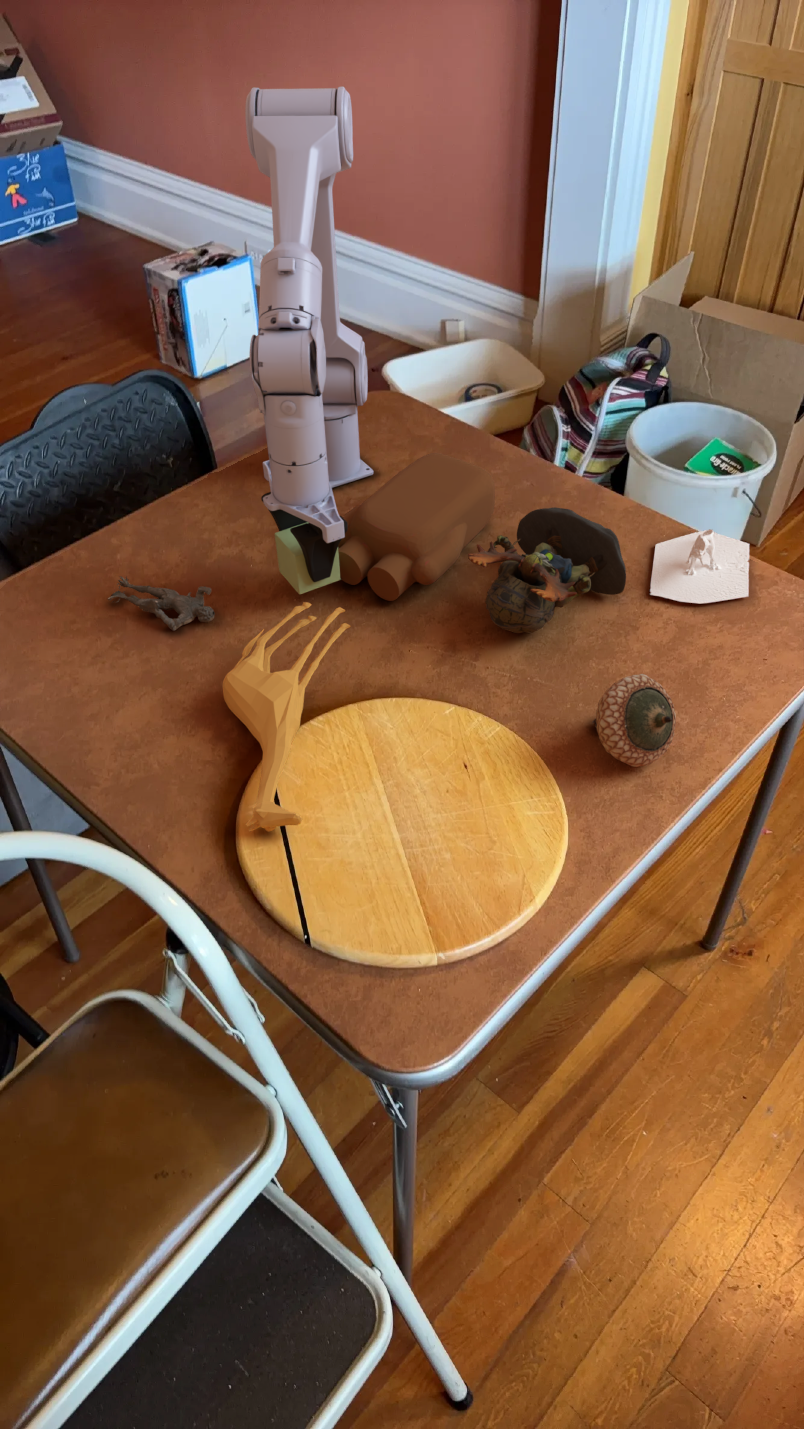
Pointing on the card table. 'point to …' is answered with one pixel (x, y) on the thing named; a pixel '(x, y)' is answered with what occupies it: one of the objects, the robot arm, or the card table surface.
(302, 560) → the felt cube
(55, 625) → the card table surface
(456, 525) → the toy
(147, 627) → the card table surface
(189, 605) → the figurine
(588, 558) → the figurine
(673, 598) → the dinosaur figurine
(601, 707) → the acorn
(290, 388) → the robot arm
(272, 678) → the giraffe
